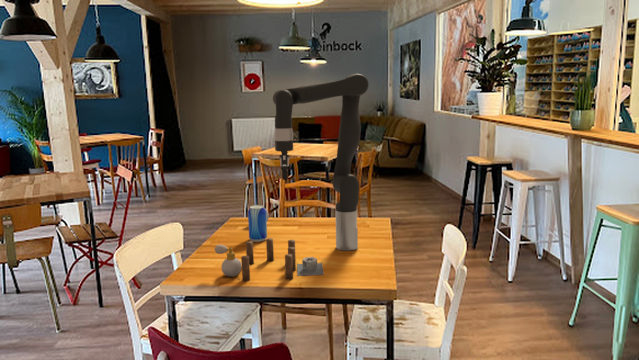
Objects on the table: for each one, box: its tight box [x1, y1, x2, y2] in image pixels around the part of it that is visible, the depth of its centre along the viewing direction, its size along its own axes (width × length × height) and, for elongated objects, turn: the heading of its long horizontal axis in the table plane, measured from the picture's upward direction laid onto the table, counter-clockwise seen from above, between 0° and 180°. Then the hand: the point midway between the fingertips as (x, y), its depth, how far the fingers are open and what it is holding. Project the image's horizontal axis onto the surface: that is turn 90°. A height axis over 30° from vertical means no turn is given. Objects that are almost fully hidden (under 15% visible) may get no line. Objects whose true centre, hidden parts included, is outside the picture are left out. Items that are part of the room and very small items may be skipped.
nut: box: [301, 256, 318, 272], centre depth 183 cm, size 6×5×4 cm
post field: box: [240, 237, 297, 282], centre depth 184 cm, size 20×23×9 cm
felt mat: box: [296, 262, 325, 277], centre depth 184 cm, size 10×12×1 cm
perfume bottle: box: [214, 244, 242, 278], centre depth 178 cm, size 8×10×12 cm
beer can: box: [247, 204, 268, 243], centre depth 220 cm, size 8×8×16 cm
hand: (285, 177), depth 196 cm, fingers open, 8 cm apart
